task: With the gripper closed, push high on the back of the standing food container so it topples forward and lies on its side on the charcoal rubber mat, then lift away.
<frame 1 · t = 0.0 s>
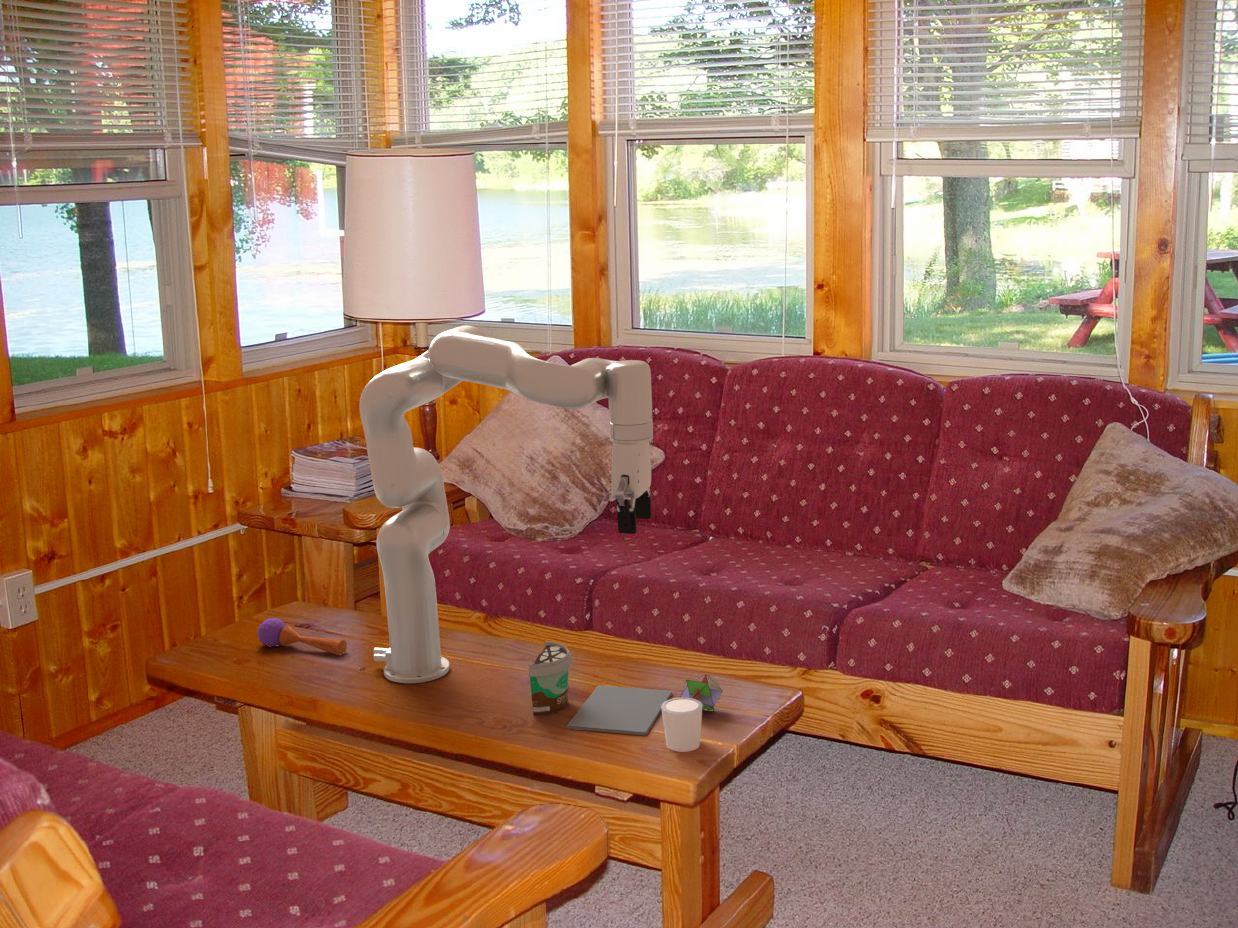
hand: (635, 525, 236), 31 cm above the table, tool pointing down, fingers open, 9 cm apart
geometric puzzle: (700, 713, 232), on the table
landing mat: (620, 710, 234), on the table
kendama: (302, 650, 271), on the table
shot glass: (683, 745, 220), on the table
food container: (556, 706, 238), on the table
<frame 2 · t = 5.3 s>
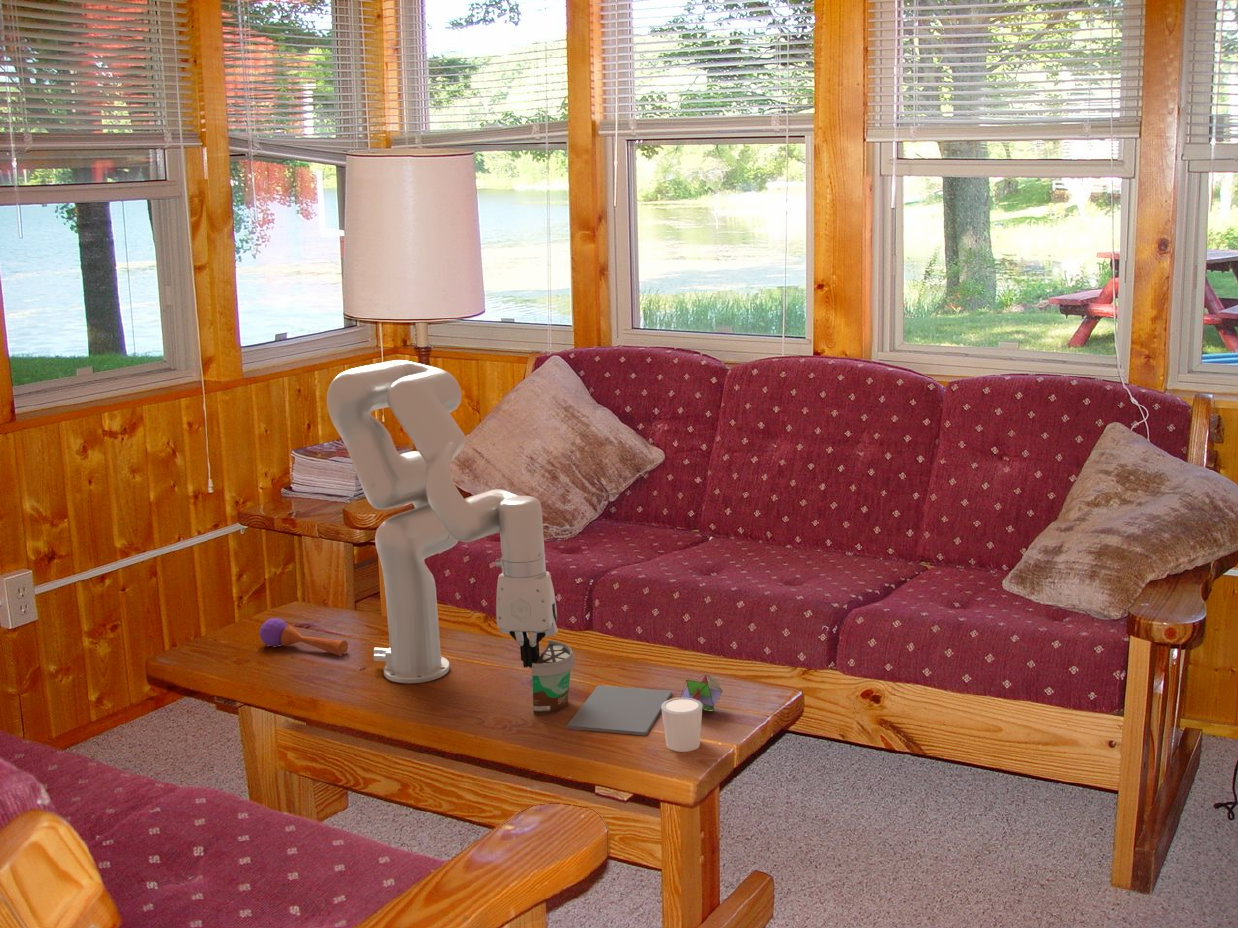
hand: (530, 664, 237), 8 cm above the table, tool pointing down, fingers closed
food container: (556, 706, 238), on the table, touching gripper
everything else where it was.
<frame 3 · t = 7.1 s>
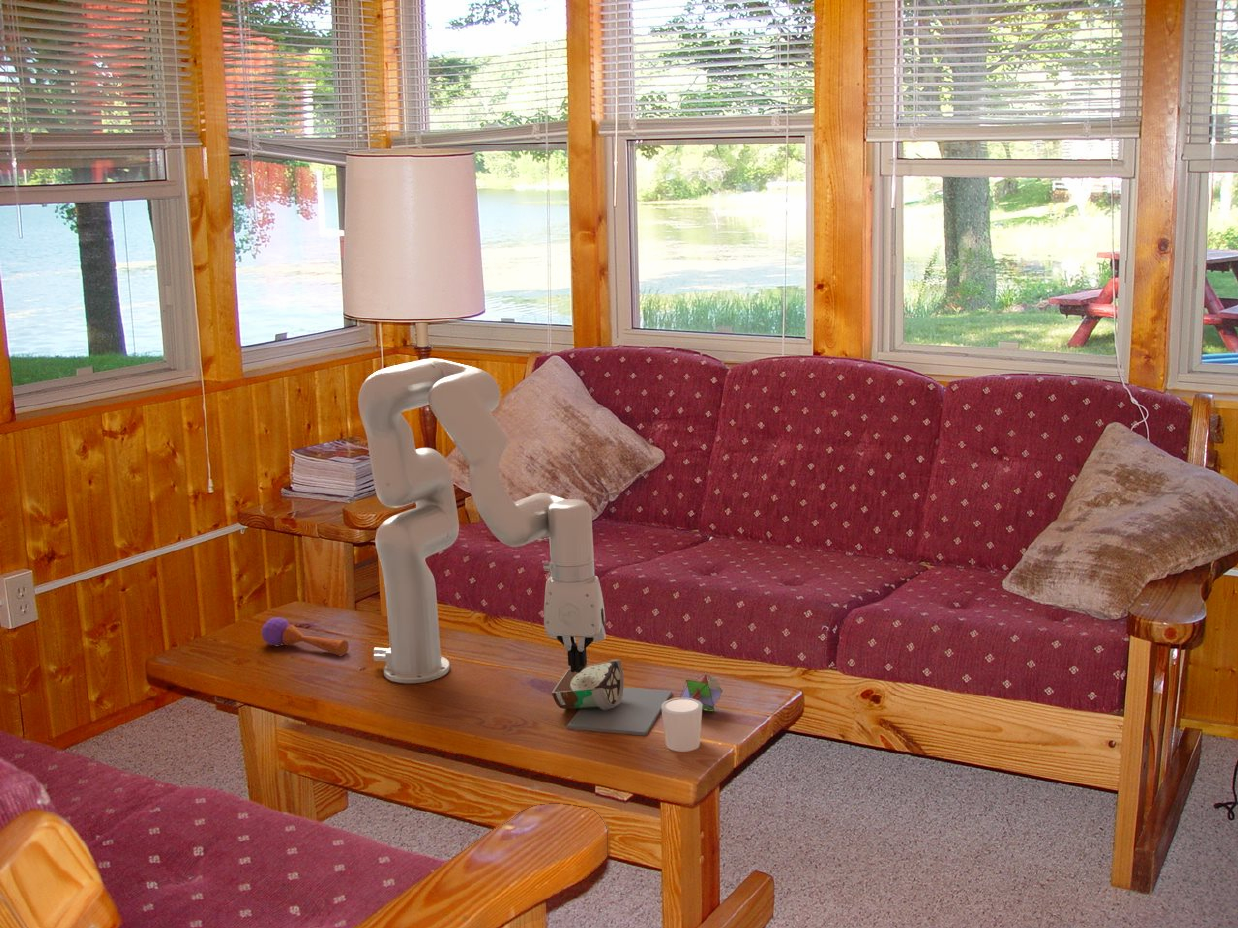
hand: (577, 669, 235), 7 cm above the table, tool pointing down, fingers closed
food container: (563, 696, 237), point 2 cm above the table, touching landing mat
everything else where it was.
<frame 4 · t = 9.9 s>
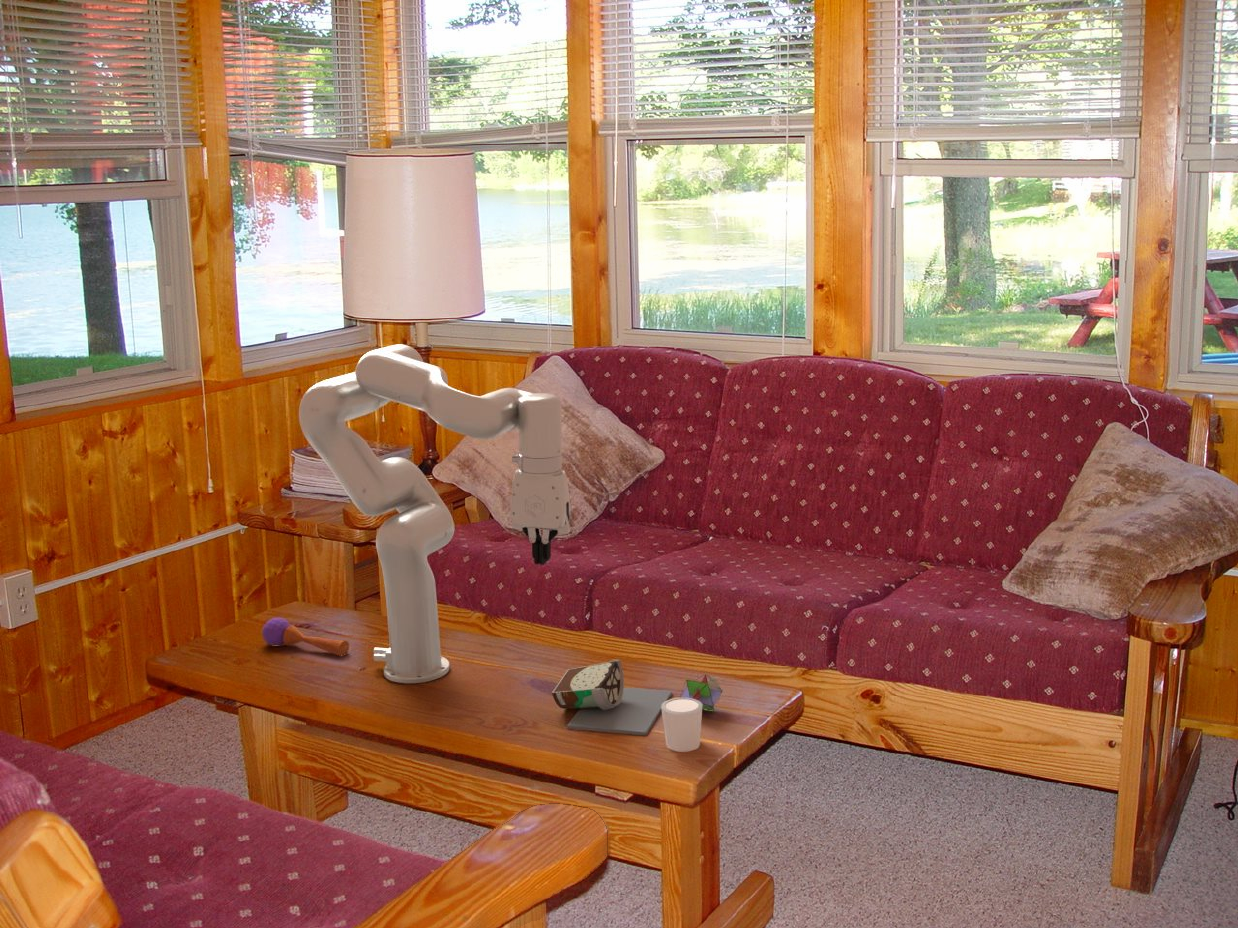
hand: (541, 562, 239), 25 cm above the table, tool pointing down, fingers closed
nothing on the table moved.
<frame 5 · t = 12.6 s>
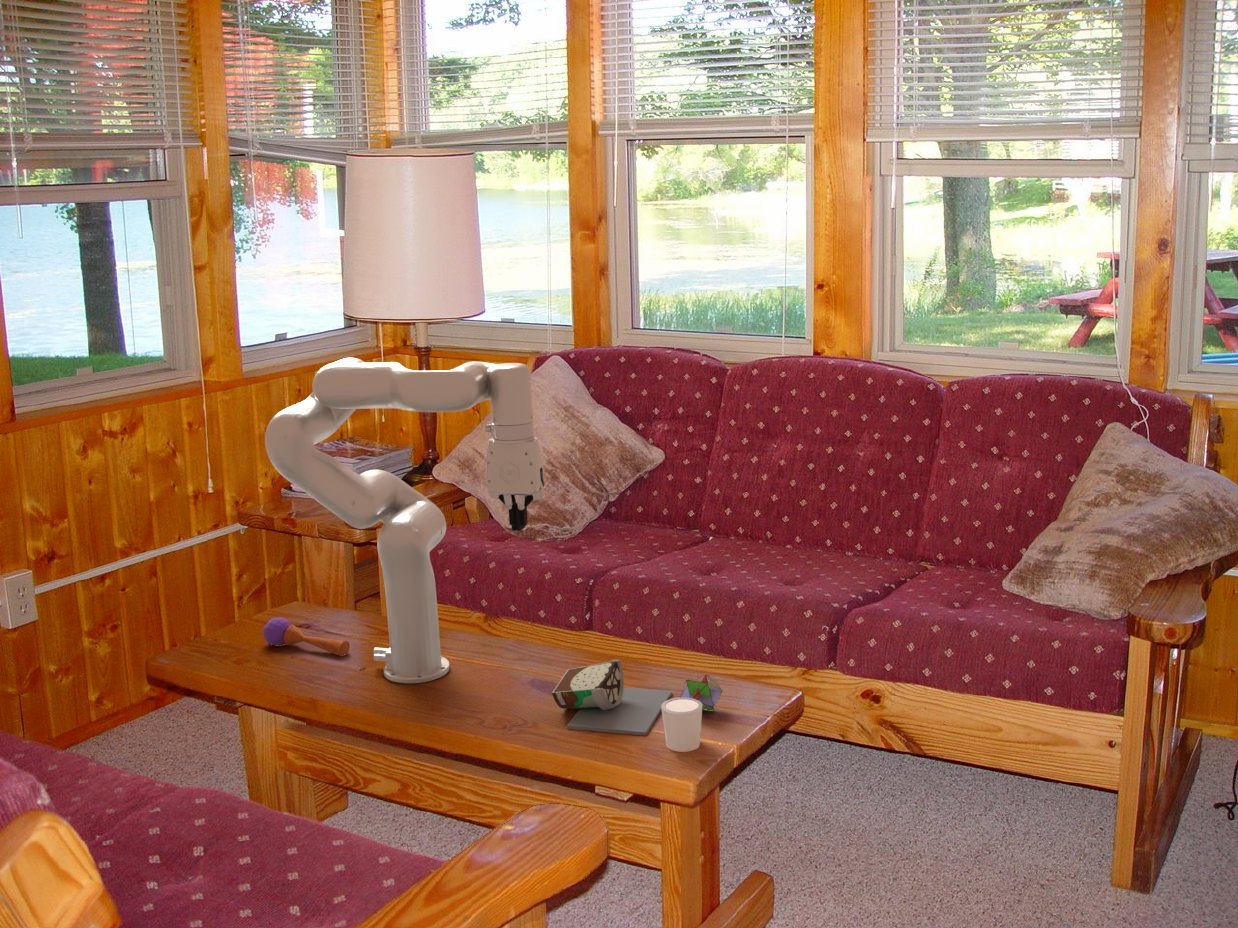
hand: (518, 528, 245), 29 cm above the table, tool pointing down, fingers closed
nothing on the table moved.
at the end: food container tilted 78°; food container touching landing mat, table; food container inside the target area (6.6 cm from its centre), point 1.8 cm above the table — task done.
